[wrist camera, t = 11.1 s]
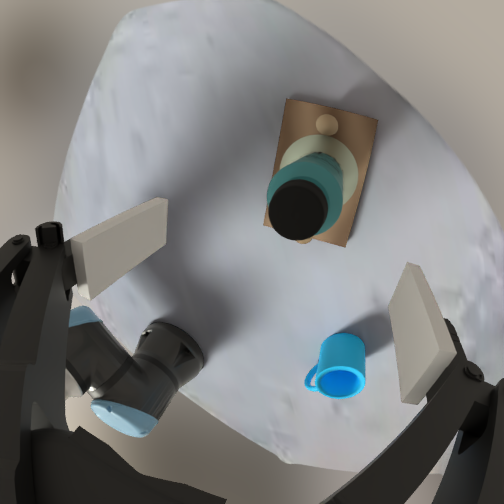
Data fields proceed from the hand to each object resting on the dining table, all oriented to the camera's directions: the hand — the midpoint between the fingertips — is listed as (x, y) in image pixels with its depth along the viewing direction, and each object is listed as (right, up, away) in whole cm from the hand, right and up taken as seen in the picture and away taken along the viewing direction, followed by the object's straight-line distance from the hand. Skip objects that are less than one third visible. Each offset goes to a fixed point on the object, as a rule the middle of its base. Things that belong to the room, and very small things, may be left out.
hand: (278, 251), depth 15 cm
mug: (+14, -18, +35) cm, 42 cm away
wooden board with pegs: (+8, +11, +23) cm, 27 cm away
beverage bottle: (+7, +10, +22) cm, 25 cm away
